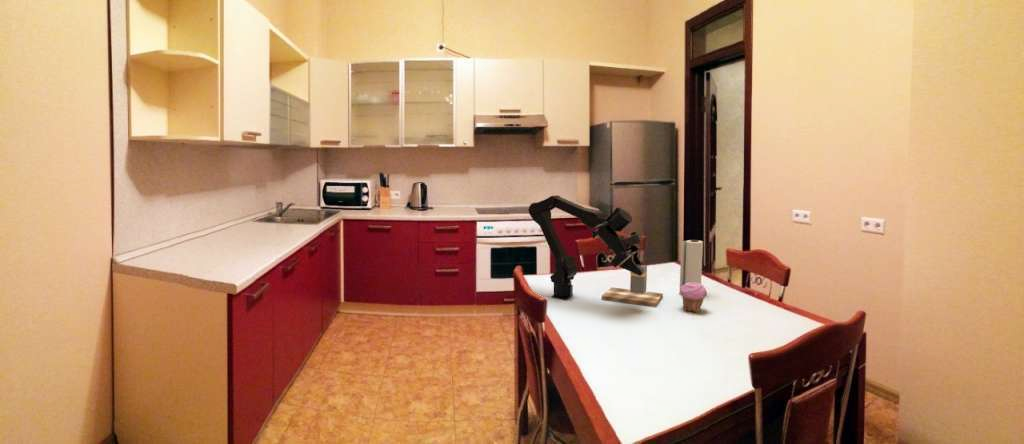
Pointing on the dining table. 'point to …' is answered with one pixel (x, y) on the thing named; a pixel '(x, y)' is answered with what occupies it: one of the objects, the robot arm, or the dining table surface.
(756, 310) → the dining table surface
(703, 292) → the cupcake
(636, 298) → the cardboard box
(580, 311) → the dining table surface
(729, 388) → the dining table surface
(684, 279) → the paper towel roll
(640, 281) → the gift box with lid
